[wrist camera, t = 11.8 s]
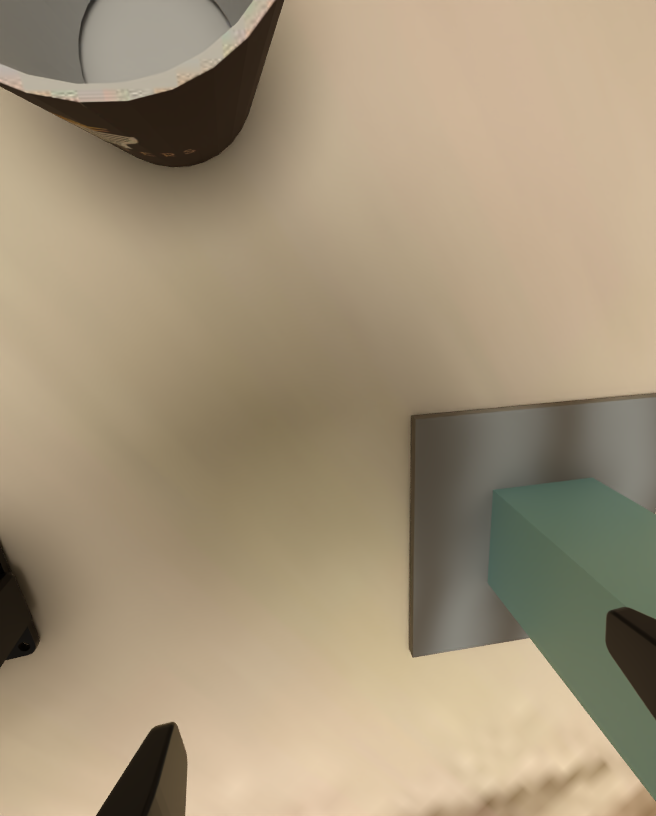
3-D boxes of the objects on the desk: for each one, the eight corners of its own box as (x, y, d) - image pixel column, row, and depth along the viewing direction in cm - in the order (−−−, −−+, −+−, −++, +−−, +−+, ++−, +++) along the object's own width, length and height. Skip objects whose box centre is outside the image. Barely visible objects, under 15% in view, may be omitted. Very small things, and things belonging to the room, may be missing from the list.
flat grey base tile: (409, 649, 26) (441, 725, 21) (411, 415, 22) (451, 449, 17) (628, 613, 27) (698, 675, 23) (666, 392, 24) (760, 417, 19)
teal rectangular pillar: (487, 582, 24) (662, 809, 14) (493, 489, 23) (694, 667, 12) (580, 568, 25) (812, 773, 15) (592, 477, 24) (861, 634, 13)
